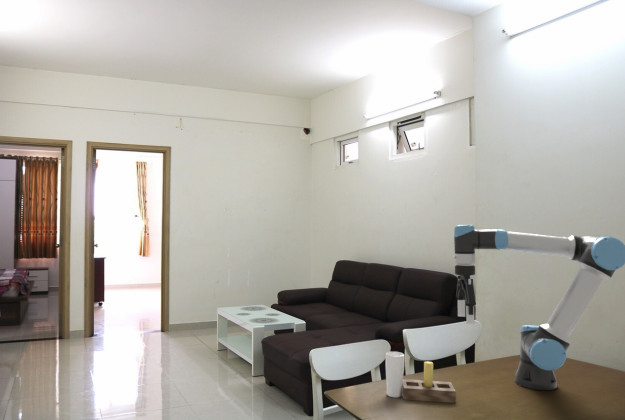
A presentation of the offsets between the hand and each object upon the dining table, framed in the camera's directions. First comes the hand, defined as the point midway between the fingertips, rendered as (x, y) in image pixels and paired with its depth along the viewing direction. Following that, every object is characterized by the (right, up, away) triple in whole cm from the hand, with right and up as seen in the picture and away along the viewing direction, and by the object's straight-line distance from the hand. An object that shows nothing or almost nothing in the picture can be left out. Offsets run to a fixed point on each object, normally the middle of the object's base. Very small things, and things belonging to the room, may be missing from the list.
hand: (465, 319), depth 188 cm
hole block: (-17, -25, -11) cm, 33 cm away
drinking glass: (-30, -25, -11) cm, 40 cm away
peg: (-17, -25, -11) cm, 32 cm away
